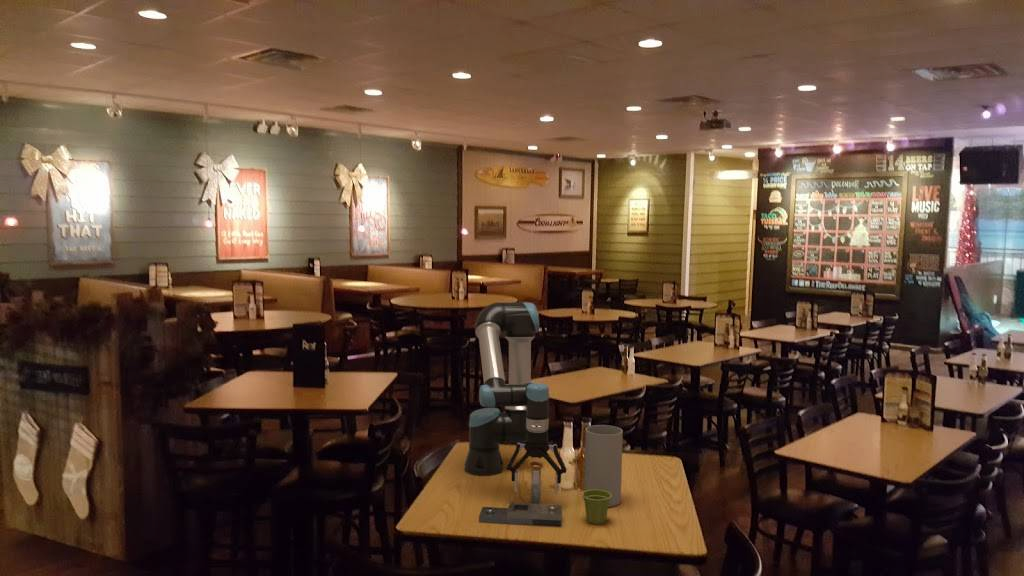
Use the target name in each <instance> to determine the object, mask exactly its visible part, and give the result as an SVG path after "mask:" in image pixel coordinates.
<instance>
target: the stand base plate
mask: <svg viewBox="0 0 1024 576" xmlns="http://www.w3.org/2000/svg"><path fill="white" fill-rule="evenodd" d="M562 519H563V504H551V503H541V504H534V503H531V502H515V501H514V502H512V501H511V502H509V504H508V507H494V506H482V508H481V511H480V513H479V515H478V523H485V524H486V523H488V524H503V525H504V524H507V525H520V526H521V525H524V526H538V527H539V526H540V527H559V528H561V527H562V521H563V520H562Z"/></svg>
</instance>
